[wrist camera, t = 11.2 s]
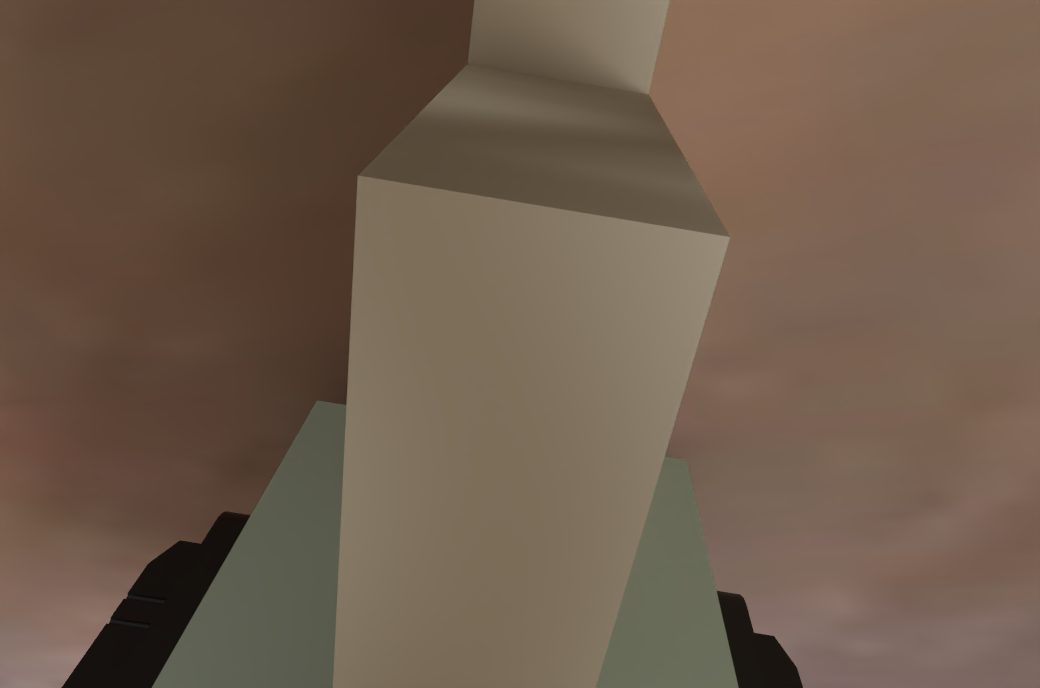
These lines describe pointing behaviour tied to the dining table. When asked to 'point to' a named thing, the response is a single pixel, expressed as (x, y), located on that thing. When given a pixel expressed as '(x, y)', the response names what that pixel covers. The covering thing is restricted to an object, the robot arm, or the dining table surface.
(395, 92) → the dining table surface
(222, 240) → the dining table surface
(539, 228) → the maple board
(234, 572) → the notched block
